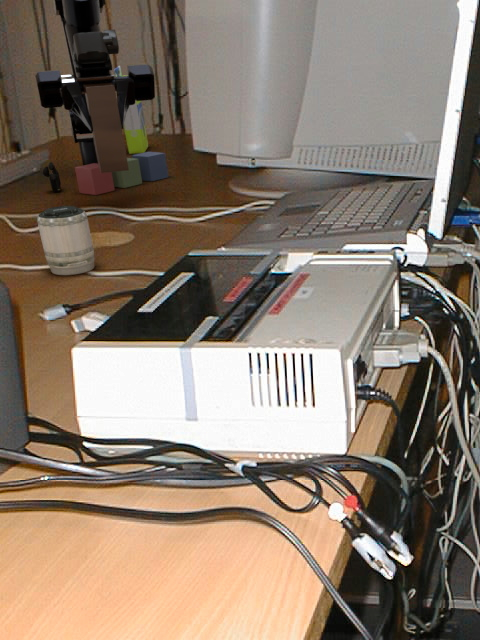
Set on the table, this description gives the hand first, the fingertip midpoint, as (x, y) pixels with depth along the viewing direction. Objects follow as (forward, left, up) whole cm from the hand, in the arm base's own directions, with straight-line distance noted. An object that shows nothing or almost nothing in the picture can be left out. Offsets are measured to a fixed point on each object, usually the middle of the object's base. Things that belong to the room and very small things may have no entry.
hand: (107, 128), depth 148 cm
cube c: (-13, +10, -12) cm, 20 cm away
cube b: (-12, +16, -12) cm, 24 cm away
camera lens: (+19, -34, -13) cm, 41 cm away
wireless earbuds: (-22, +8, -13) cm, 26 cm away
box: (-36, +51, -13) cm, 64 cm away
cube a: (-11, +23, -12) cm, 28 cm away
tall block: (-1, +1, -7) cm, 7 cm away
